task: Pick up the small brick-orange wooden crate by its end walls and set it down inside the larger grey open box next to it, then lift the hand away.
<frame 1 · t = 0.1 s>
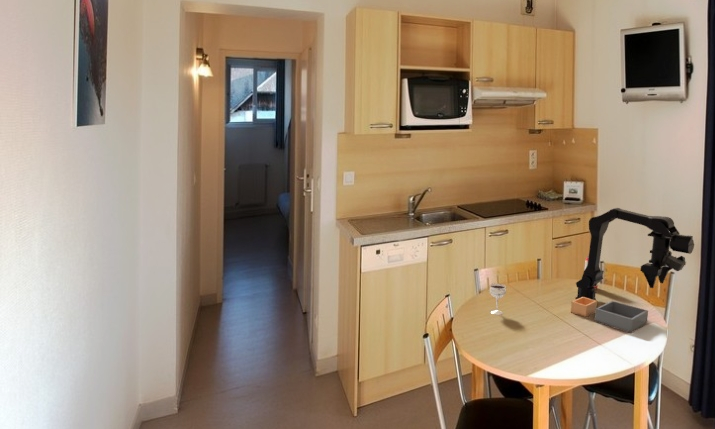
hand: (656, 285, 184), 15 cm above the table, tool pointing down, fingers open, 9 cm apart
grey open box: (620, 322, 185), on the table
beer can: (590, 288, 224), on the table
wineglass: (496, 312, 197), on the table
orange crate: (583, 312, 195), on the table
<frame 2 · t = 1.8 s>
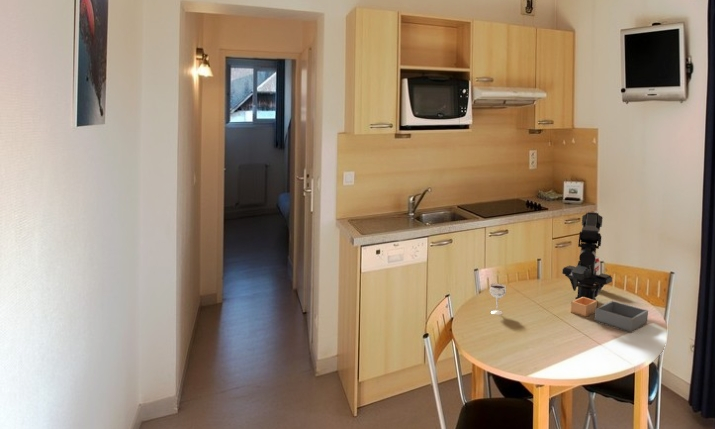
hand: (585, 293, 194), 8 cm above the table, tool pointing down, fingers open, 9 cm apart
nothing on the table moved.
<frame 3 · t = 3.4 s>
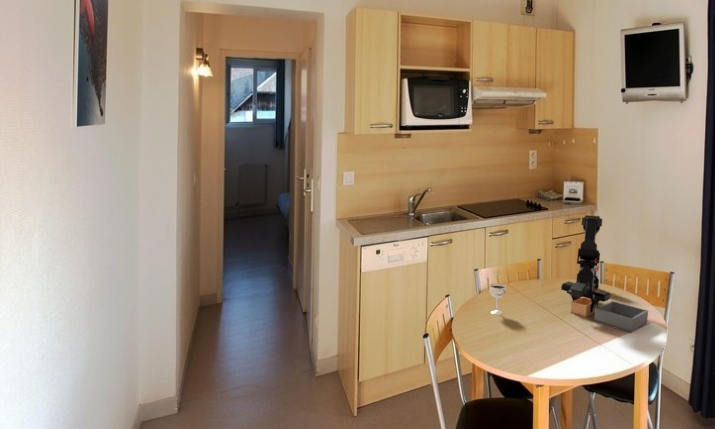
hand: (583, 309, 195), 1 cm above the table, tool pointing down, fingers closed on orange crate, 6 cm apart
orange crate: (583, 312, 195), on the table, touching gripper
everything else where it was.
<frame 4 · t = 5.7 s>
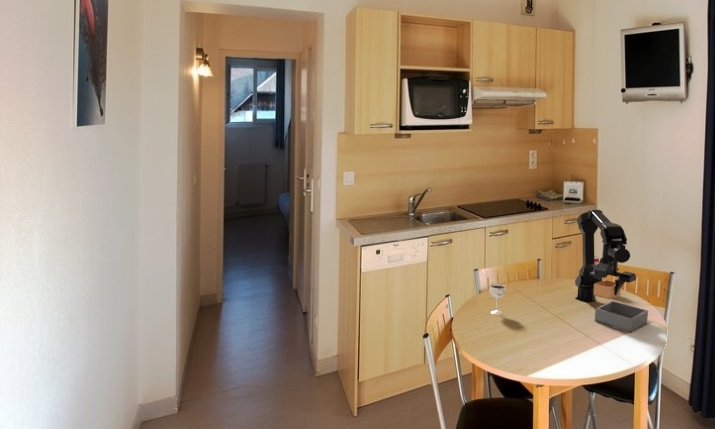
hand: (607, 292, 187), 11 cm above the table, tool pointing down, fingers closed on orange crate, 6 cm apart
orange crate: (606, 295, 187), point 10 cm above the table, touching gripper
everything else where it was.
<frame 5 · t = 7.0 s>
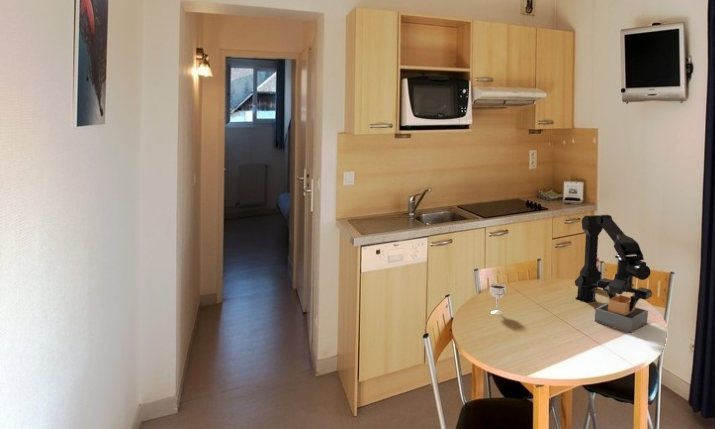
hand: (621, 308, 184), 6 cm above the table, tool pointing down, fingers closed on orange crate, 6 cm apart
orange crate: (621, 310, 184), point 5 cm above the table, touching gripper
everything else where it was.
when the fingers open (4 cm above the table, at t = 8.2 s): orange crate drops 2 cm, resting on grey open box.
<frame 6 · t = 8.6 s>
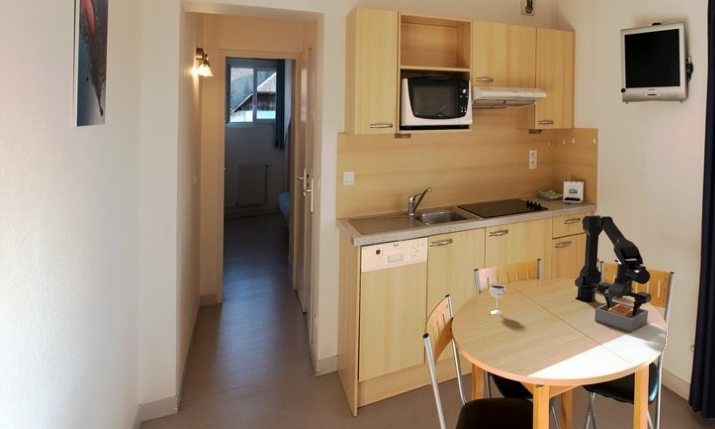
hand: (621, 312, 184), 4 cm above the table, tool pointing down, fingers open, 9 cm apart
orange crate: (620, 320, 185), point 1 cm above the table, touching grey open box
everything else where it was.
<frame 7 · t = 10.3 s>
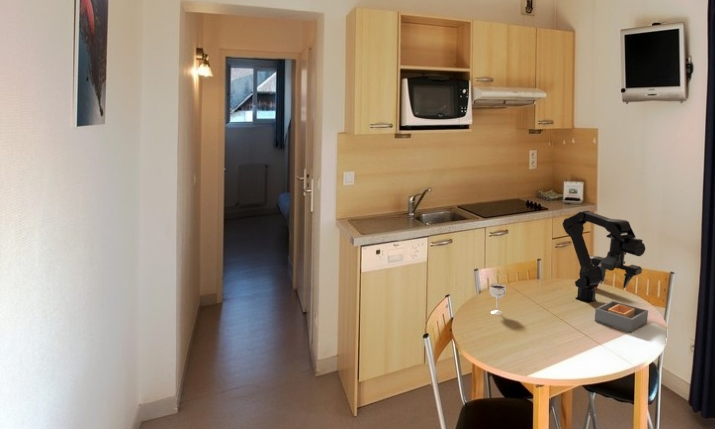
hand: (613, 284, 195), 12 cm above the table, tool pointing down, fingers open, 9 cm apart
nothing on the table moved.
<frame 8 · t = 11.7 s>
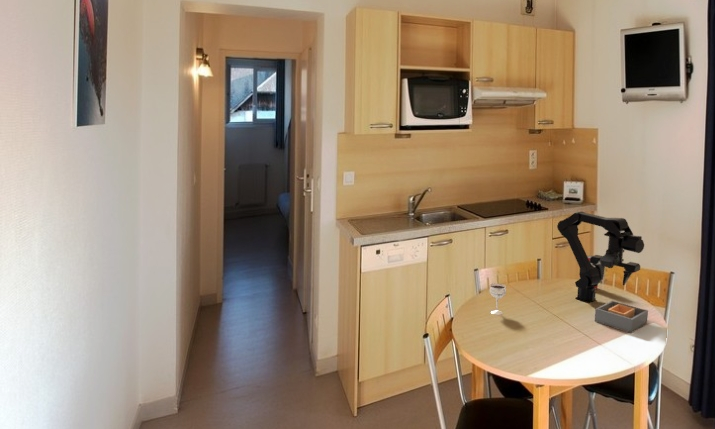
hand: (612, 282, 197), 12 cm above the table, tool pointing down, fingers open, 9 cm apart
nothing on the table moved.
at the end: orange crate 0.1 cm off-centre on the grey open box, point 0.8 cm above the grey open box's base; orange crate tilted 0°; the gripper is holding nothing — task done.
